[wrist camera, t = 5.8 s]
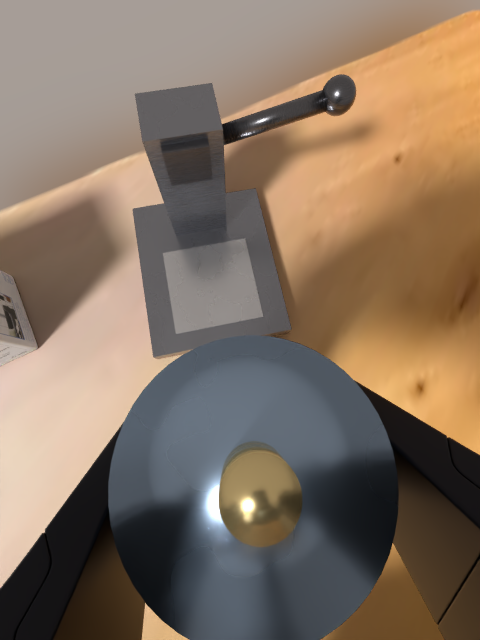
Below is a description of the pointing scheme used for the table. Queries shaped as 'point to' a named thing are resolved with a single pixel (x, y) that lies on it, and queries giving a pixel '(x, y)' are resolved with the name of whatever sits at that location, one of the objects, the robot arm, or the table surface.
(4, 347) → the light bulb box
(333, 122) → the table surface
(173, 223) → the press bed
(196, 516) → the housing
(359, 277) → the table surface
